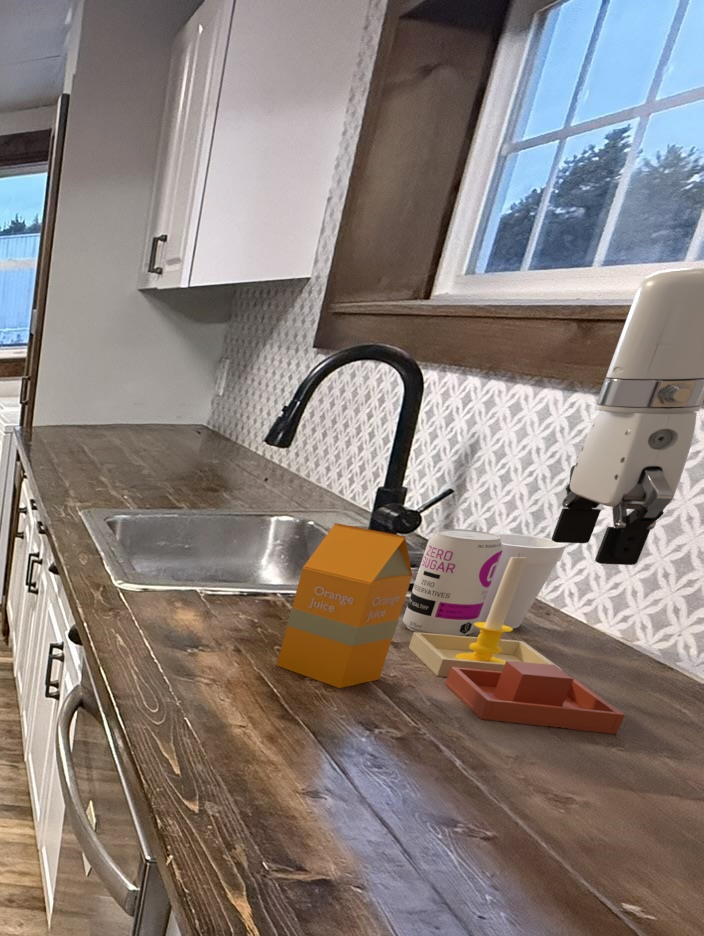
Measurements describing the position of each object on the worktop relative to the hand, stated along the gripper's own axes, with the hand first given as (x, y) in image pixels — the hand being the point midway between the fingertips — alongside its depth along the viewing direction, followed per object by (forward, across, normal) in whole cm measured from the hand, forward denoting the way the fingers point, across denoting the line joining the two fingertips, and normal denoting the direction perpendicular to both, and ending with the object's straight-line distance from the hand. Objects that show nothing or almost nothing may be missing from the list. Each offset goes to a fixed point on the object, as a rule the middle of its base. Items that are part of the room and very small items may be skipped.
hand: (591, 552), depth 94 cm
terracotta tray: (+20, 0, +1) cm, 20 cm away
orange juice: (+20, +5, +20) cm, 28 cm away
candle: (+19, +14, +1) cm, 24 cm away
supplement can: (+20, +29, +1) cm, 35 cm away
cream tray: (+20, +14, +1) cm, 24 cm away
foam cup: (+20, +36, -8) cm, 42 cm away
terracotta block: (+19, 0, +1) cm, 19 cm away
